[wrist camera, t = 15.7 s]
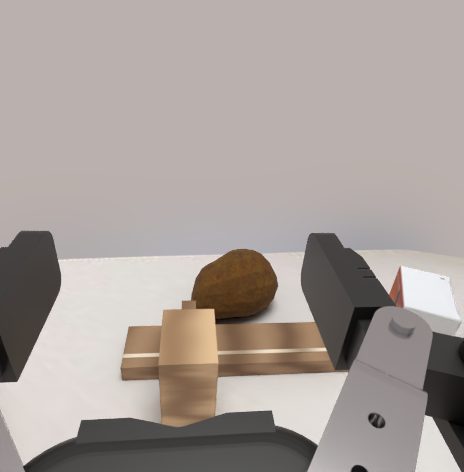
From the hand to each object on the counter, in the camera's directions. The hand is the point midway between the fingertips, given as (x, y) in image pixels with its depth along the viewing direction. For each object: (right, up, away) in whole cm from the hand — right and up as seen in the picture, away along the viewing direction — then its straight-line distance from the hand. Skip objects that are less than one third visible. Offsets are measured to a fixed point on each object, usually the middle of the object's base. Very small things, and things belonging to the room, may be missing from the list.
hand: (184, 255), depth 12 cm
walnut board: (+2, -13, +32) cm, 35 cm away
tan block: (-3, -16, +27) cm, 32 cm away
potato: (+1, -9, +40) cm, 41 cm away
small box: (+22, -14, +34) cm, 43 cm away
